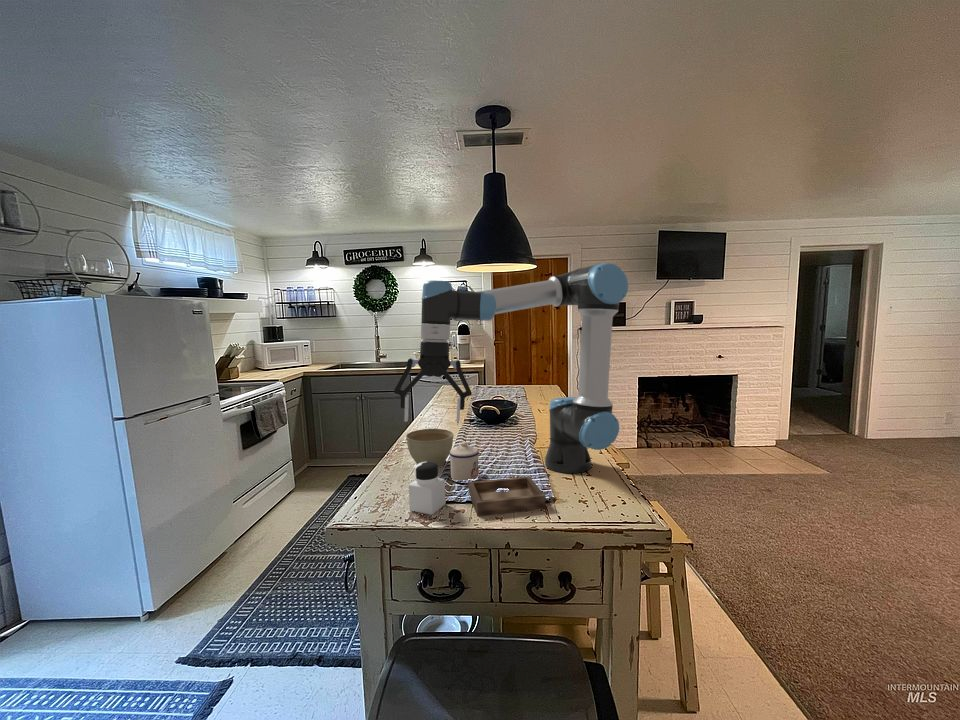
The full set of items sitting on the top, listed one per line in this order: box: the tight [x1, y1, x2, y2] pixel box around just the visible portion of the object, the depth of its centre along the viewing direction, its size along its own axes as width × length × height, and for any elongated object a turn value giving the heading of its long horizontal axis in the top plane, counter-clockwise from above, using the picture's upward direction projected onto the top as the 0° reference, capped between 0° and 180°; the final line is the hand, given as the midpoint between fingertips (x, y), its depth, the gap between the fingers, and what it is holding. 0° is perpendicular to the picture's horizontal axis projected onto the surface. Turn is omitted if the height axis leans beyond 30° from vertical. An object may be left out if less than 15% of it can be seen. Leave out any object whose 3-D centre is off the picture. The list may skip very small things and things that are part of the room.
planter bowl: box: [405, 428, 455, 469], centre depth 144 cm, size 16×16×11 cm
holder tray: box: [468, 476, 546, 517], centre depth 115 cm, size 18×14×4 cm
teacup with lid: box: [449, 441, 479, 480], centre depth 132 cm, size 12×9×12 cm
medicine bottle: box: [408, 462, 447, 516], centre depth 111 cm, size 7×7×12 cm
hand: (432, 421), depth 111 cm, fingers open, 13 cm apart
